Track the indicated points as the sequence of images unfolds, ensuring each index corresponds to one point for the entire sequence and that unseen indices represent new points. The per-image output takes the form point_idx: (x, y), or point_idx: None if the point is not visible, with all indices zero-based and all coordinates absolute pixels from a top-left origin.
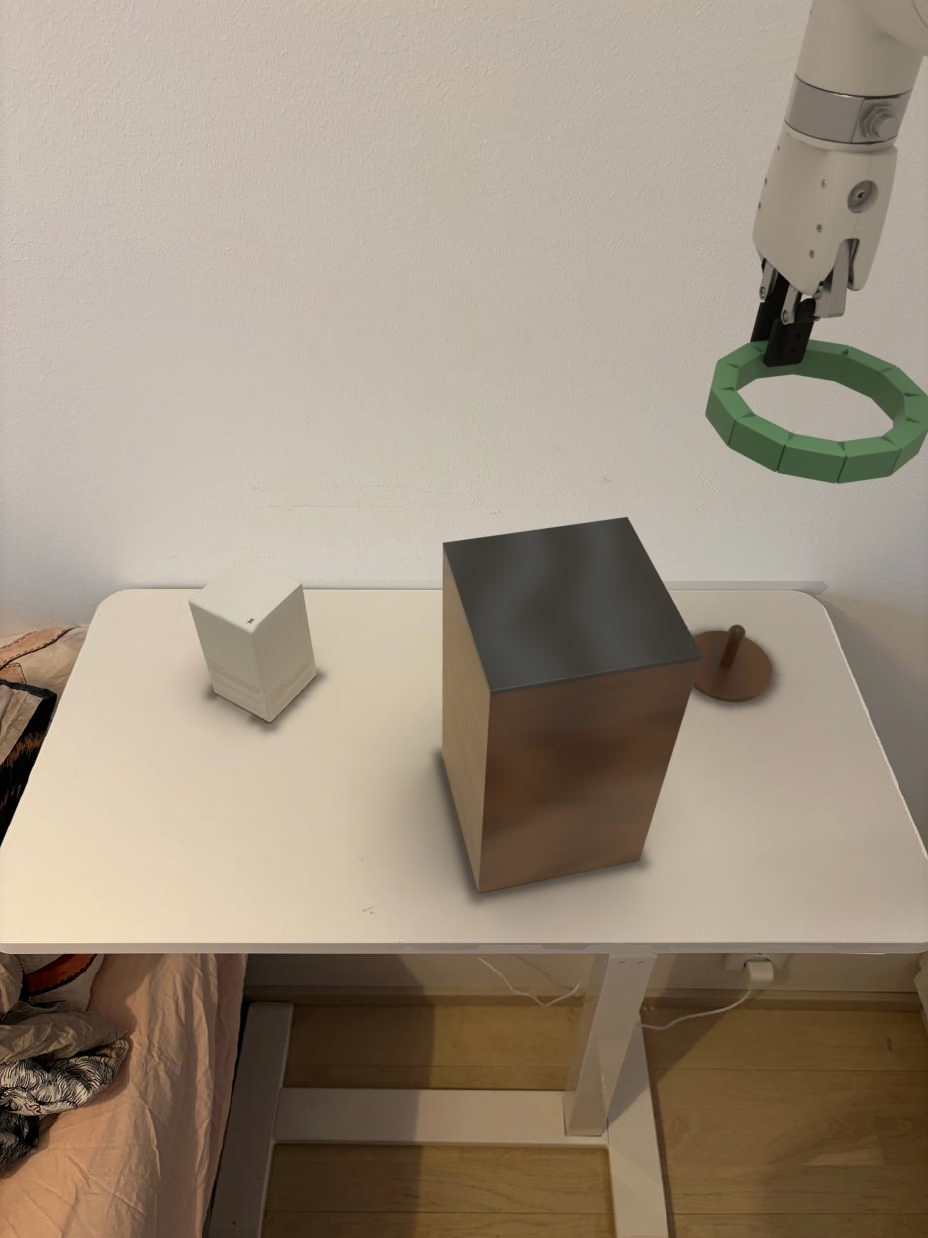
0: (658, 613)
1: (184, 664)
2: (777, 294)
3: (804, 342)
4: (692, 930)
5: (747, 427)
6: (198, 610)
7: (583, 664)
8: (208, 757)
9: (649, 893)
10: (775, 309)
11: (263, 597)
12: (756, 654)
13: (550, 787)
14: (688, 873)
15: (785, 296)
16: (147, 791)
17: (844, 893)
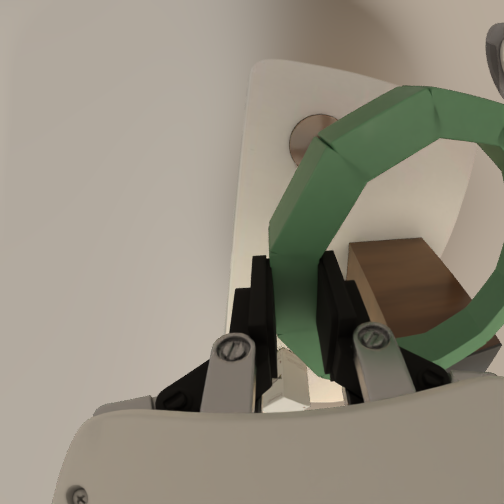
0: (474, 361)
1: None
2: (264, 385)
3: (361, 298)
4: (452, 226)
5: (449, 366)
6: None
7: None
8: None
9: (434, 237)
10: (276, 360)
11: (291, 405)
12: (317, 122)
13: None
14: (433, 218)
15: (268, 370)
16: (324, 383)
17: (461, 153)
